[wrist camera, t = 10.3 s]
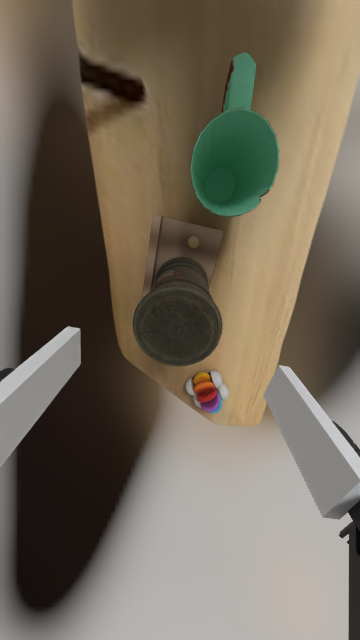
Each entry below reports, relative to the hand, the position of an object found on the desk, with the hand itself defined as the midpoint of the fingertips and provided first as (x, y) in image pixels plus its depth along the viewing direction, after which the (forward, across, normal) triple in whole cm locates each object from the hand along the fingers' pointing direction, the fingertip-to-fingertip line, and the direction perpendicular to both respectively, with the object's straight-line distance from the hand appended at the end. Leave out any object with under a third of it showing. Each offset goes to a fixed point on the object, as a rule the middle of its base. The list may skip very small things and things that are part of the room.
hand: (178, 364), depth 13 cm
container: (+23, 0, 0) cm, 23 cm away
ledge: (+26, -1, 0) cm, 26 cm away
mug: (+27, +2, +18) cm, 32 cm away
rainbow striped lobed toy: (+26, +11, -24) cm, 37 cm away
